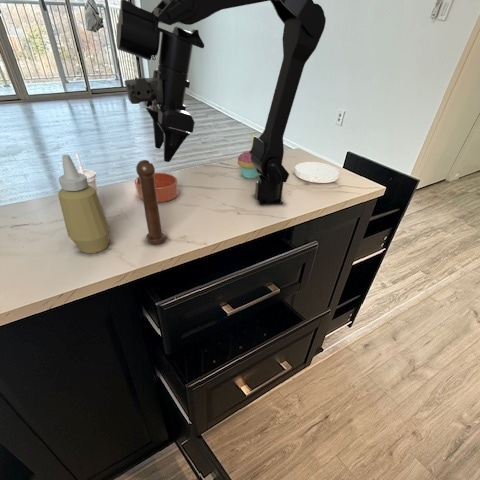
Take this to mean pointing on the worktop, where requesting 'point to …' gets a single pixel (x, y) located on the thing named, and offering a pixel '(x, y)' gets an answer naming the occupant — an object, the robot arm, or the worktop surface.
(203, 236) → the worktop surface
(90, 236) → the squeeze bottle
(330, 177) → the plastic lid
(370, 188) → the worktop surface
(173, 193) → the bowl
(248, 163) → the cupcake
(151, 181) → the muddler
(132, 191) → the worktop surface
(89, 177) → the smoothie
